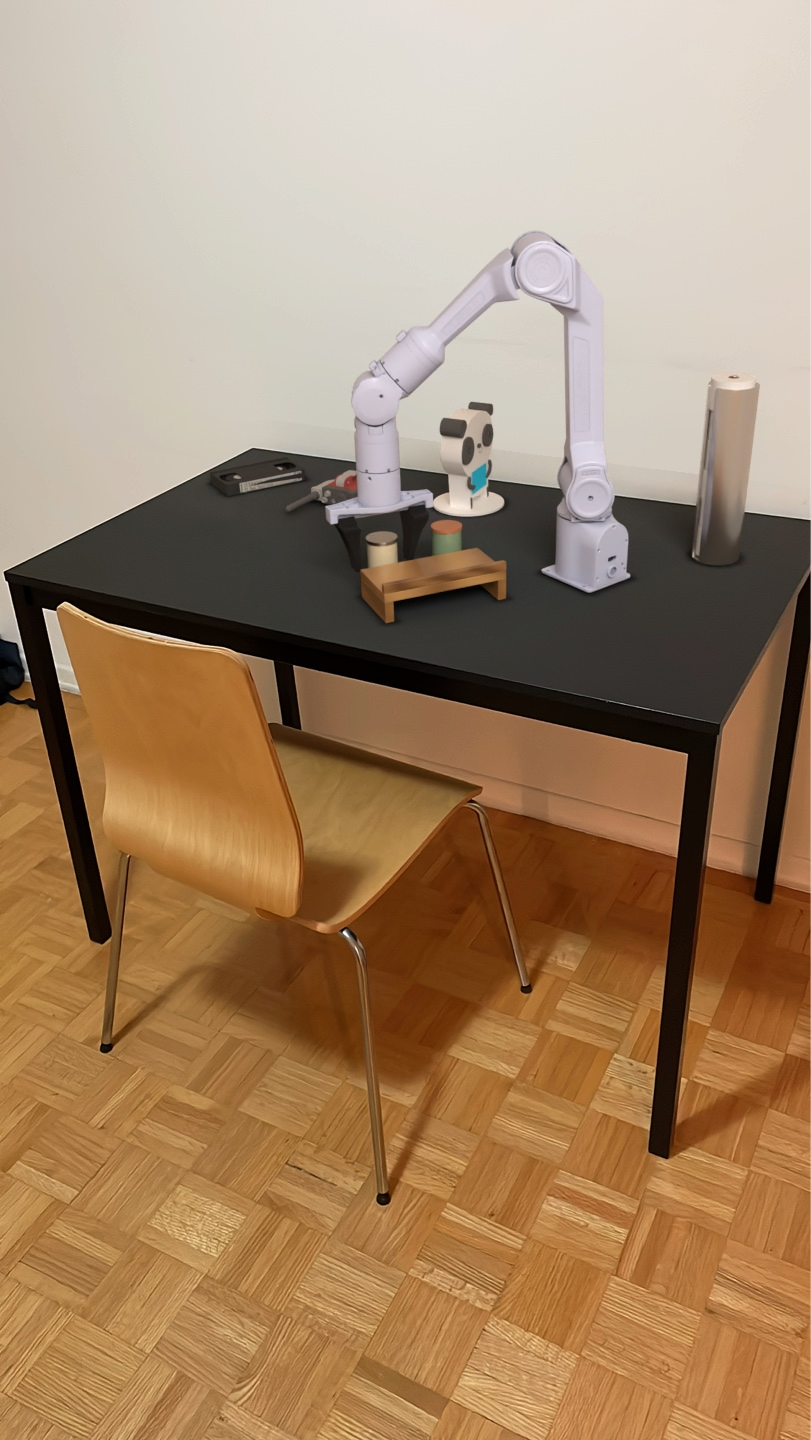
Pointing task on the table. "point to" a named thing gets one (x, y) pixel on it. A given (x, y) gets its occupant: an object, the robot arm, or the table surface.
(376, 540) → the cream tin
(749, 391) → the silver metal cylinder
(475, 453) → the panda figurine
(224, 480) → the vhs tape
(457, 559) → the shelf
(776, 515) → the table surface
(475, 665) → the table surface
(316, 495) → the walkie-talkie
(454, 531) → the sage tin
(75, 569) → the table surface
